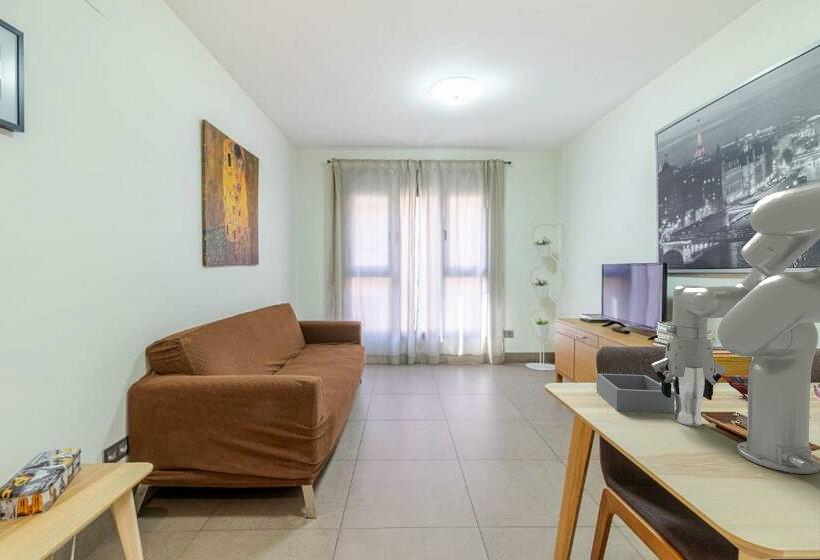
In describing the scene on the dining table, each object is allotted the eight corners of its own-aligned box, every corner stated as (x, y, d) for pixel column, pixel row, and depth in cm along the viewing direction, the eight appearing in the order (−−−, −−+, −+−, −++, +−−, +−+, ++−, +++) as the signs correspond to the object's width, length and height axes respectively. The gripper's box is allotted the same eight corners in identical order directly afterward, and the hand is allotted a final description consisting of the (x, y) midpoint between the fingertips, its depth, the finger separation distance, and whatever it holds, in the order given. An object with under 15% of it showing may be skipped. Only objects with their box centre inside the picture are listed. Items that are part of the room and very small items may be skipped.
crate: (674, 413, 110) (674, 392, 110) (616, 410, 113) (616, 389, 112) (645, 393, 128) (646, 375, 128) (596, 391, 130) (596, 373, 130)
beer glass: (694, 417, 108) (695, 362, 107) (710, 427, 101) (712, 368, 100) (666, 416, 108) (667, 361, 108) (681, 426, 101) (682, 368, 101)
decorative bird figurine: (768, 407, 115) (769, 373, 115) (709, 389, 133) (710, 359, 132) (775, 406, 116) (776, 372, 116) (716, 389, 133) (716, 359, 133)
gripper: (660, 334, 102) (657, 400, 102) (735, 336, 99) (732, 404, 100) (647, 329, 109) (645, 391, 110) (716, 331, 106) (714, 394, 107)
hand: (686, 397), depth 105 cm, fingers open, 9 cm apart
